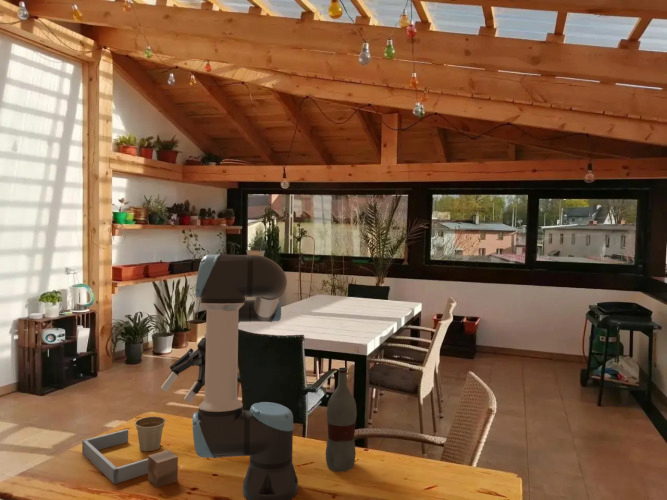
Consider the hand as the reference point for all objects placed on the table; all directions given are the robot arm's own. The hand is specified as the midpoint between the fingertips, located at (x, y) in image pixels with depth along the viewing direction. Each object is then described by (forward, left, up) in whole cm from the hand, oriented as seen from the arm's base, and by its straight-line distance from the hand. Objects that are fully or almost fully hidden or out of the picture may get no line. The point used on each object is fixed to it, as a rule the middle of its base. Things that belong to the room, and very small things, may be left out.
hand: (174, 395), depth 171 cm
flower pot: (0, +8, -16) cm, 18 cm away
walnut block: (-23, +15, -15) cm, 31 cm away
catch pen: (-3, +18, -15) cm, 24 cm away
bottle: (-49, -30, -16) cm, 59 cm away
